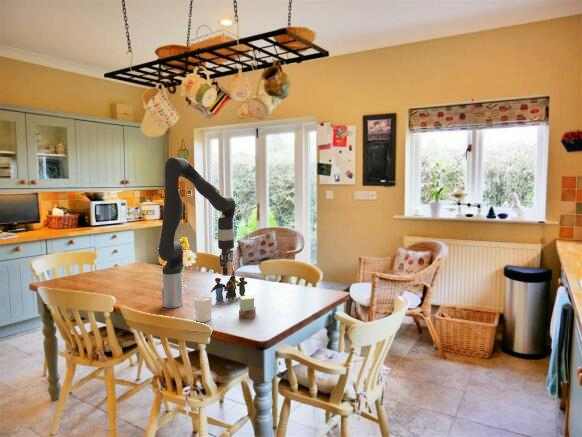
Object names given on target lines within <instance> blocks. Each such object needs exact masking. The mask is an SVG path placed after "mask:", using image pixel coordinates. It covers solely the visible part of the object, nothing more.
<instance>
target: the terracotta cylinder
mask: <svg viewBox="0 0 582 437" xmlns="http://www.w3.org/2000/svg"><path fill="white" fill-rule="evenodd" d="M232 263H233V261H232V262H228V266H227V268H228V274H227V275H223V267H221V276H223V277H228V276H229V277H231V276H233V264H232Z"/></svg>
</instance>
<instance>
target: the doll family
mask: <svg viewBox="0 0 582 437" xmlns="http://www.w3.org/2000/svg"><path fill="white" fill-rule="evenodd" d="M245 279H246V277H244V276H241V277H239V278H238V280H237V279H236V275H233V274H232V275H230V276H229V279H228V281H227V282H226V284H224V283H221V281H222V279H221V277H216V278H214V281H215V285H214V286H213V287H212V289H211V290H210V293H213V292H214V291H215V304H216V305H220V304H224V303H225V301H224V295H223V292H226V294H225V300H227V303H229V304H230V303H231V304H232V302H236V301H237V300H236V299H237V292H236V291H237V287H238V289H239V290H238V293H239V296H246V295H245V293H246V286H245V285H248V281H246V280H245Z"/></svg>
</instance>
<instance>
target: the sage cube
mask: <svg viewBox="0 0 582 437" xmlns="http://www.w3.org/2000/svg"><path fill="white" fill-rule="evenodd" d="M238 298H239V302H238V303H239V310H240V309H241V310H242V311H249V310H254V307H255V298H254V297H253V296H252V295H250V294H249V295H245V296H241V295H239V297H238Z"/></svg>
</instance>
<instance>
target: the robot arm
mask: <svg viewBox="0 0 582 437" xmlns="http://www.w3.org/2000/svg"><path fill="white" fill-rule="evenodd" d="M180 177H182V178H184V179H186V180H187V181H189V182H190V183H191V184H192V185H193V187H194V188H195V189H196V191H197V192H198V193H199V194H200V195H201V196H202V197H204V198H205V199H206V200H207V201H208V202H209V203H210V205H212V207H213V208H214V209H215V210H216V211H218V212H221V216H220V217H219V218H218V220H217V227H218V228H217V248H218V249H219V250H221V252H220V255H219V264H220V267H221V268H222V267H223V275H227V274H228V268H227V266H228V262H232V263H233V260H234V259H233V257H234V256H233V255H234V250H233V249H235V234H234V233H235V232H234V217H235V211H236V202H235V199H234V198H233V197H232V196H229V195H228V196H227V195H226V196H224V195H223V196H222V195H221V194H220V190H219V189H218V188H217V187H216V186H215V185H213V184H212V183H211V182H209V181H208V180H207V179H206V178H204V176H202V175H201V174H200V173H199V172H198V171H197V170H196V169H195V167H194V166H193V165H192V164H191V163H190V162H189V161H188V160H187V159H186V158H183V157H169V158H168V159H166V161H165V166H164V201H163V209H162V210H163V211H162V212H163V213H162V223H161V225H162V226H161V234H160V238H159V244H158V256H159V258H160V259H161V260H162V261H164V262H166V263H165V265H163V267H162V283H163V284H162V288H161V300H162V301H161V302H162V303H161V304H162V306H161V307H163V308H167V309H175V308H180V307H182V306H183V305H184V303H183V300H184V298H183V282H182V280H183V279H182V277H183V276H182V268H183V266H184V263H183V262H184V260H183V259H184V252H183V251H184V250H183V246H182V243H180V242H179V241H178V240H175V238H176V237H175V235H176V231H177V229H178V227H179V226H180V223H181V221H182V218H183V210H184V203H183V197H182V195H181V193H180V190H179V180H180ZM223 275H222V276H223Z"/></svg>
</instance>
